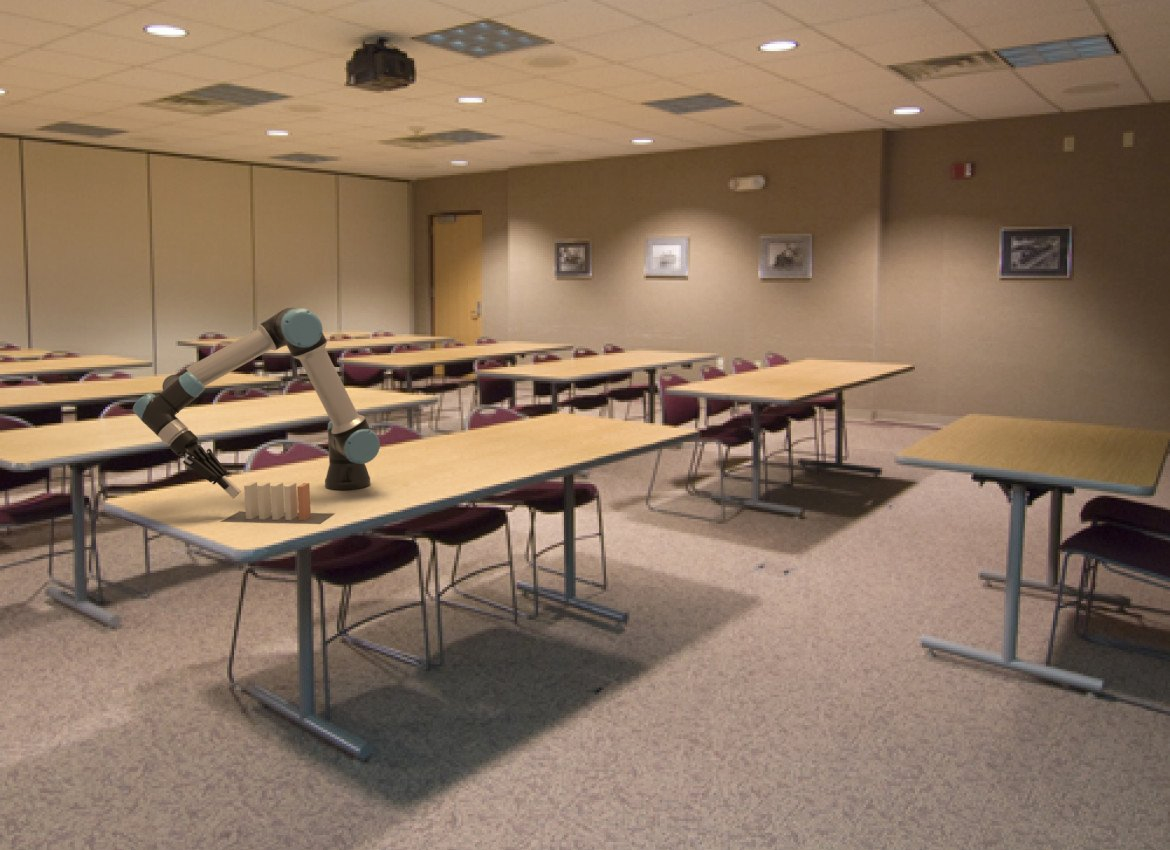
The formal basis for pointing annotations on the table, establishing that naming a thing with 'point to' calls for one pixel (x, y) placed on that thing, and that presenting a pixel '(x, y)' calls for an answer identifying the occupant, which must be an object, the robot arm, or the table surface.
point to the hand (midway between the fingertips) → (237, 494)
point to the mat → (313, 519)
